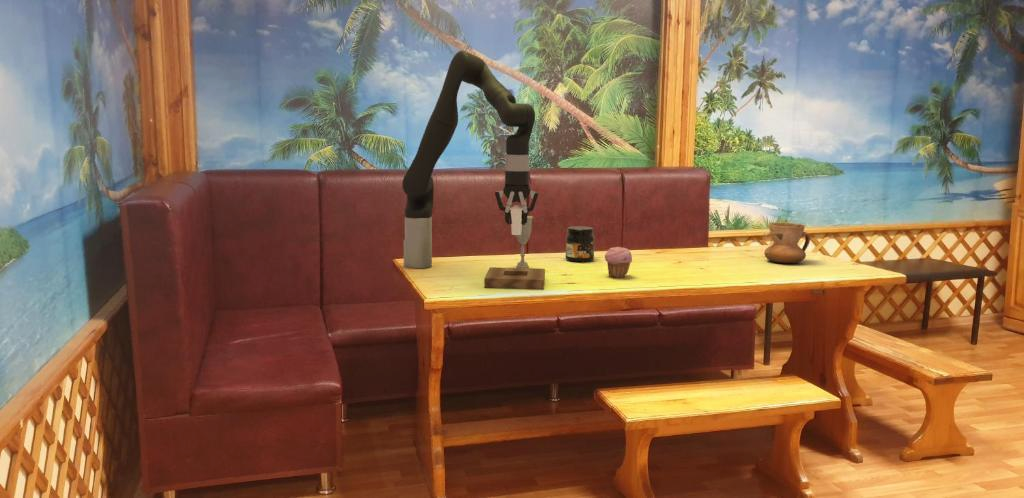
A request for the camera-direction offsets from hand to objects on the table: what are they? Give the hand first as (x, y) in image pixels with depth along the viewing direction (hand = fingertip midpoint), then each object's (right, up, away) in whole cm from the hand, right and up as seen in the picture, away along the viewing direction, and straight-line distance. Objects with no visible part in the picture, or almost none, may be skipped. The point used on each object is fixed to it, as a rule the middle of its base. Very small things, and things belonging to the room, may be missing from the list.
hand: (516, 224), depth 248 cm
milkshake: (0, -3, +1) cm, 3 cm away
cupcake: (+34, -17, +15) cm, 41 cm away
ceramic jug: (+100, -13, +46) cm, 111 cm away
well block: (0, -18, +3) cm, 19 cm away
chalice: (+2, -15, +26) cm, 30 cm away
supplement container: (+23, -12, +44) cm, 51 cm away
